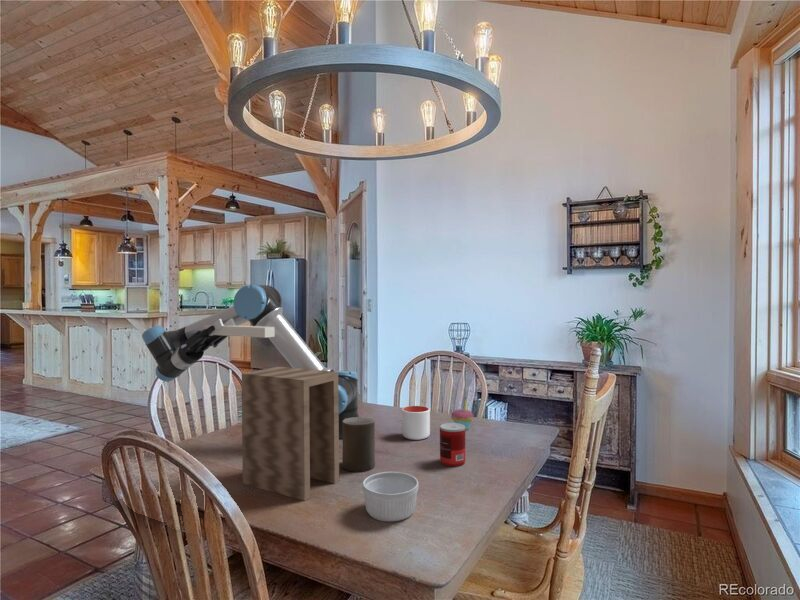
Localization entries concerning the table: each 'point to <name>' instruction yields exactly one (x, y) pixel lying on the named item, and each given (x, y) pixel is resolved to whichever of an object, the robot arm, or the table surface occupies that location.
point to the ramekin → (390, 495)
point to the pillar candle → (358, 444)
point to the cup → (416, 422)
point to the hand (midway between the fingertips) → (227, 322)
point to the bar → (245, 331)
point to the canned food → (452, 444)
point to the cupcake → (462, 416)
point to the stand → (290, 429)
